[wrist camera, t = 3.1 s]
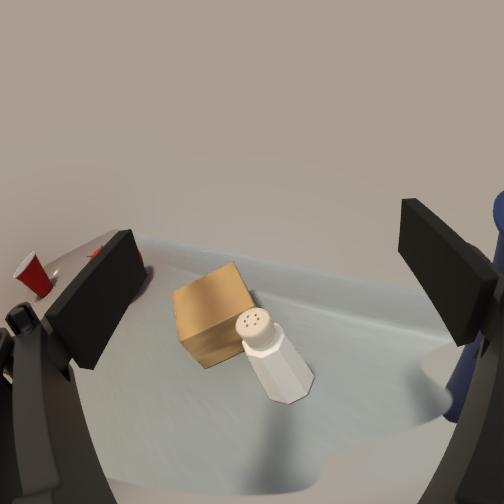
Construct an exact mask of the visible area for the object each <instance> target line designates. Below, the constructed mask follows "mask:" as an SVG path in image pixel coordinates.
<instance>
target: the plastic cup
mask: <svg viewBox="0 0 504 504" xmlns="http://www.w3.org/2000/svg"><path fill="white" fill-rule="evenodd" d="M14 278H17V279H18V280H20V281H21V282H23V283H24V284H25V285H26V286H28V287H29V288H30V289H31V290H32V291H33V292H35V293H36V294H37V295H38V296H40V297H41V298H43V297H45V296H46V295H47V294H48V293H49V292H50V290H51V289H52V286H53V285H52V283H51V282H50V280H49V278H48V276H47V274H46V273H45V271H44V269H43V268H42V266H41V264H40V262H39V260H38V259H37V257H36V255H35V251H33V252H32V253H31V254H30V255H28V257H27V258H26V259H25V260H24V261H23V262H22V263H21V265H20V266H19V268H18V269H17V271H16V272H15V274H14Z"/></svg>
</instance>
